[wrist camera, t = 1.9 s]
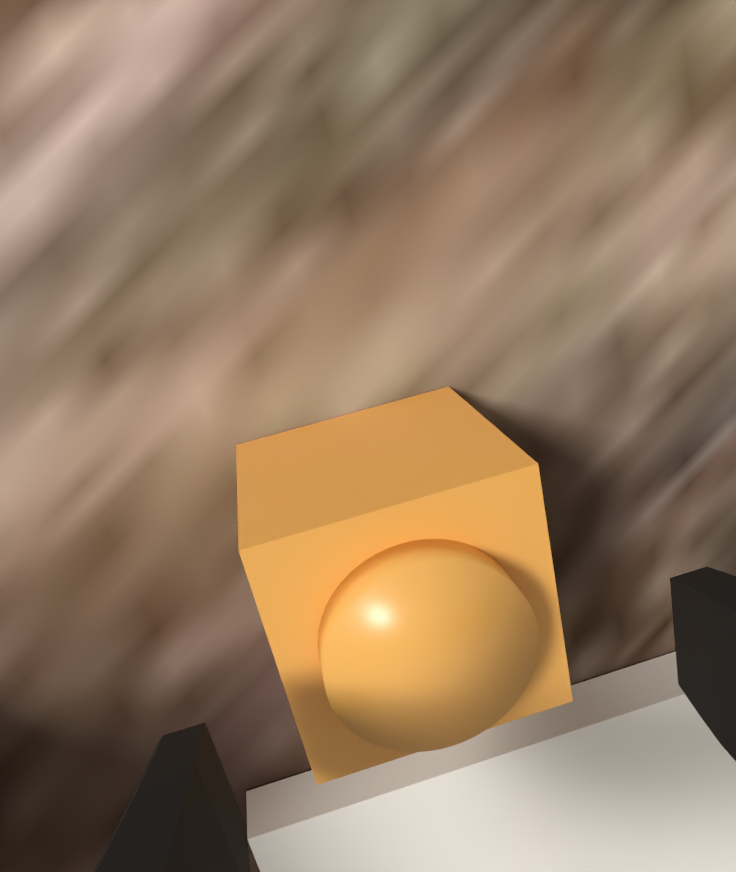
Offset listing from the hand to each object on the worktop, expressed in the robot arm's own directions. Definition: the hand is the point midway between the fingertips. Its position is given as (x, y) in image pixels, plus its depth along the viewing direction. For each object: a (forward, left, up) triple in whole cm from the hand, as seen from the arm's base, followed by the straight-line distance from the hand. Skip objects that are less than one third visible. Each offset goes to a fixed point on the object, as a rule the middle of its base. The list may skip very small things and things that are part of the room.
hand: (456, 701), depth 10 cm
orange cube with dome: (0, 0, -7) cm, 7 cm away
